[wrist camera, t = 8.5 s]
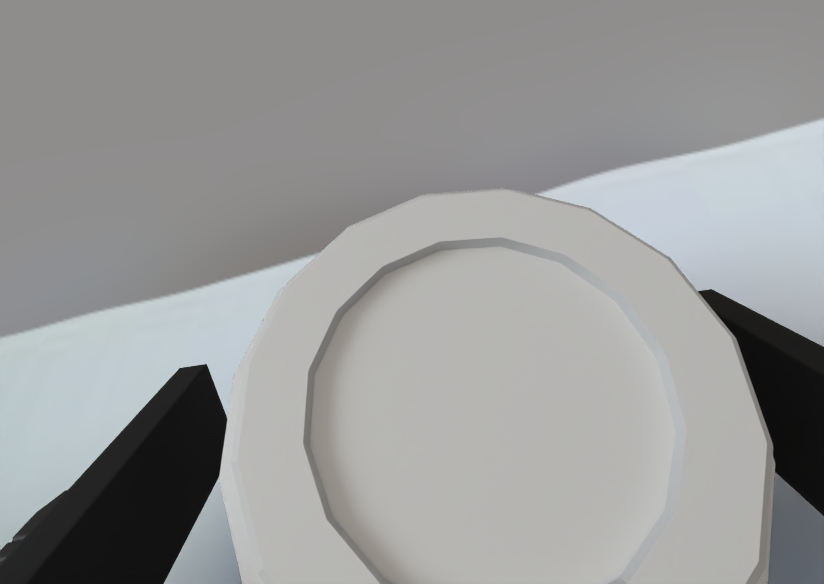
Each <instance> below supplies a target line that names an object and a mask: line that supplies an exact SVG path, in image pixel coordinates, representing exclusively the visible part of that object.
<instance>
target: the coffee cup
mask: <svg viewBox="0 0 824 584" xmlns="http://www.w3.org/2000/svg"><path fill="white" fill-rule="evenodd" d="M774 477H775V461H774V458H773V443H772V441H771V438H770V435H769V432H768V429H767V426H766V423H765V420H764V417H763V415H762V412H761V409H760V406H759V403H758V400H757V397H756V394H755V391H754V389H753V386H752V383H751V380H750V377H749V374H748V371H747V368H746V365H745V363H744V360H743V357H742V354H741V351H740V348H739V345H738V342H737V340H736V338H735V336H734V335H733V334H732V333H731V332H730V330H729V329H728V328H727V327H726V325H725V324H724V323H723V322H722V321H721V319H720V318H719V317H718V316H717V314H716V313H715V312H714V311H713V310H712V308H711V307H710V306H709V305H708V303H707V302H706V301H705V300H704V299H703V297H702V296H701V295H700V294H699V292H698V291H697V290H696V289H695V288H694V286H693V285H692V284H691V283H690V281H689V280H688V279H687V278H686V277H685V275H684V274H683V273H682V272H681V271H680V269H679V268H678V267H677V266H676V264H675V263H674V262H673V261H672V260H671V258H669V257H668V256H666V255H665V254H663V253H661V252H660V251H658V250H656V249H655V248H653V247H652V246H650V245H648V244H647V243H645V242H644V241H642V240H640V239H639V238H637V237H636V236H634V235H632V234H631V233H629V232H628V231H626V230H624V229H623V228H621V227H620V226H618V225H616V224H615V223H613V222H612V221H610V220H608V219H607V218H605V217H603V216H602V215H600V214H599V213H597V212H595V211H594V210H592V209H591V208H587V207H583V206H579V205H575V204H570V203H566V202H562V201H558V200H554V199H550V198H546V197H542V196H538V195H534V194H530V193H525V192H521V191H517V190H513V189H509V188H497V189H485V190H472V191H459V192H447V193H434V194H424V195H421V196H419V197H416V198H414V199H412V200H410V201H407V202H405V203H402V204H400V205H398V206H395V207H393V208H391V209H389V210H386V211H384V212H381V213H379V214H377V215H374V216H372V217H370V218H367V219H365V220H363V221H360V222H358V223H356V224H354V225H351V226H349V227H348V228H347V229H346V230H344V231H343V233H341V234H340V235H339V236H338V237H337V238H336V239H335V240H334V241H332V242H331V243H330V244H329V245H328V246H327V247H326V248H325V249H324V250H323V251H321V252H320V253H319V254H318V255H317V256H316V257H315V258H314V259H313V260H312V261H310V262H309V263H308V264H307V265H306V266H305V267H304V268H303V269H302V270H301V271H300V272H298V273H297V274H296V275H295V276H294V277H293V278H292V279H291V280H290V281H289V282H287V284H286V286H285V287H284V288H282V289H281V290H280V291H279V292H278V293H277V295H276V297H275V299H274V301H273V303H272V305H271V307H270V308H269V310H268V312H267V314H266V316H265V318H264V320H263V321H262V323H261V325H260V327H259V329H258V331H257V333H256V335H255V336H254V338H253V340H252V342H251V344H250V346H249V348H248V350H247V351H246V353H245V355H244V357H243V359H242V361H241V363H240V365H239V366H238V368H237V370H236V372H235V374H234V377H233V384H232V391H231V398H230V405H229V412H228V419H227V426H226V433H225V440H224V447H223V454H222V461H221V468H220V475H219V482H220V487H221V491H222V496H223V500H224V505H225V509H226V514H227V518H228V522H229V527H230V531H231V536H232V540H233V545H234V549H235V554H236V558H237V563H238V567H239V572H240V576H241V581H242V584H768V571H769V556H770V540H771V524H772V508H773V493H774Z"/></svg>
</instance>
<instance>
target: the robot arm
mask: <svg viewBox="0 0 824 584" xmlns="http://www.w3.org/2000/svg"><path fill="white" fill-rule="evenodd" d="M698 292H699V294H700V295H701V296H702V297H703V299H704V300H705V301H706V302H707V303H708V305H709V306H710V307H711V308H712V310H713V311H714V312H715V313H716V314H717V316H718V317H719V318H720V319H721V321H722V322H723V323H724V324H725V325H726V327H727V328H728V329H729V330H730V332H731V333H732V334H733V335H734V336H735V338H736V340H737V342H738V345H739V348H740V351H741V354H742V357H743V360H744V363H745V365H746V368H747V371H748V374H749V377H750V380H751V383H752V386H753V389H754V391H755V394H756V397H757V400H758V403H759V406H760V409H761V412H762V415H763V417H764V420H765V423H766V426H767V429H768V432H769V435H770V438H771V441H772V443H773V458H774V461H775V472H776V473H777V474H778V475H779V476H780V477H782V478H783V479H784V480H785V481H786V482H787V483H788V484H789V485H790V486H791V487H792V488H794V489H795V490H796V491H797V492H798V493H799V494H800V495H801V496H802V497H803V498H805V499H806V500H807V501H808V502H809V503H810V504H811V505H812V506H813V507H814V508H816V509H817V510H818V511H819V512H820V513H821V514H822V515H823V516H824V347H823V346H821V345H819V344H817V343H815V342H813V341H811V340H809V339H807V338H805V337H803V336H801V335H799V334H797V333H795V332H794V331H792V330H790V329H788V328H786V327H784V326H782V325H780V324H778V323H776V322H774V321H772V320H770V319H768V318H766V317H764V316H762V315H760V314H759V313H757V312H755V311H753V310H751V309H749V308H747V307H745V306H743V305H741V304H739V303H737V302H735V301H733V300H731V299H729V298H727V297H726V296H724V295H722V294H720V293H718V292H716V291H714V290H712V289H710V290H704V291H698ZM226 426H227V417H226V414H225V411H224V409H223V406H222V403H221V401H220V398H219V396H218V393H217V390H216V388H215V385H214V382H213V380H212V377H211V374H210V372H209V369H208V367H207V364H205V365H198V366H191V367H184V368H179V370H178V371H177V372H176V373H175V374H174V375H173V376H172V377H171V378H170V379H169V380H168V382H167V383H166V384H165V385H164V386H163V387H162V388H161V389H160V390H159V391H158V392H157V394H156V395H155V396H154V397H153V398H152V399H151V400H150V401H149V402H148V403H147V404H146V406H145V407H144V408H143V409H142V410H141V411H140V412H139V413H138V414H137V415H136V416H135V418H134V419H133V420H132V421H131V422H130V423H129V424H128V425H127V426H126V427H125V428H124V430H123V431H122V432H121V433H120V434H119V435H118V436H117V437H116V438H115V439H114V440H113V442H112V443H111V444H110V445H109V446H108V447H107V448H106V449H105V450H104V451H103V453H102V454H101V455H100V456H99V457H98V458H97V459H96V460H95V461H94V462H93V463H92V465H91V466H90V467H89V468H88V469H87V470H86V471H85V472H84V473H83V474H82V475H81V477H80V478H79V479H78V480H77V481H76V482H75V483H74V484H73V485H72V486H71V487H70V489H69V490H66V491H64V492H63V493H62V494H60V495H59V496H58V497H56V498H55V499H54V500H52V501H51V502H50V503H48V504H47V505H46V506H44V507H43V508H42V509H40V510H39V511H38V512H37V513H35V515H34V516H33V517H32V518H31V519H30V520H29V521H28V522H27V523H26V524H25V525H24V526H23V527H22V528H21V529H20V530H19V531H18V533H17V534H16V535H15V536H14V537H13V541H12V542H10V543H7V544H6V545H5V546H4V547H3V548H2V549H1V551H0V584H164V582H165V580H166V578H167V576H168V574H169V572H170V570H171V568H172V566H173V564H174V562H175V560H176V558H177V557H178V555H179V553H180V551H181V549H182V547H183V545H184V543H185V541H186V539H187V537H188V535H189V533H190V531H191V530H192V528H193V526H194V524H195V522H196V520H197V518H198V516H199V514H200V512H201V510H202V508H203V506H204V504H205V502H206V501H207V499H208V497H209V495H210V493H211V491H212V489H213V487H214V485H215V483H216V481H217V479H218V477H219V475H220V468H221V461H222V454H223V447H224V440H225V433H226Z"/></svg>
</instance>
